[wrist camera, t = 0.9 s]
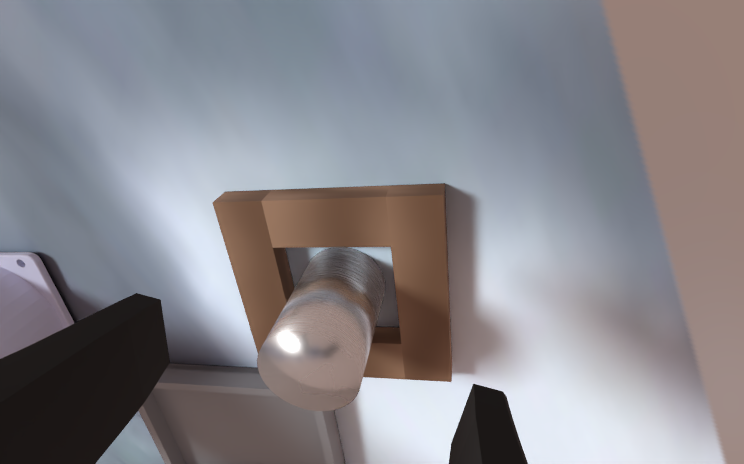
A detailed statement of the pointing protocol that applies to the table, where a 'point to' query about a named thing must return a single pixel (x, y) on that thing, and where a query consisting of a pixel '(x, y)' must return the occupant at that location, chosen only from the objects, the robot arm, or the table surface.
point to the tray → (234, 420)
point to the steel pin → (324, 331)
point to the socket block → (350, 229)
